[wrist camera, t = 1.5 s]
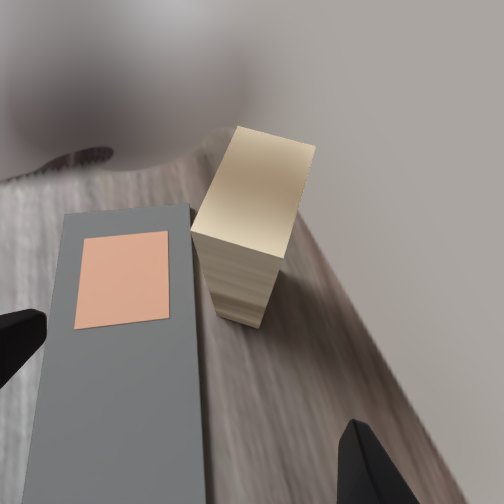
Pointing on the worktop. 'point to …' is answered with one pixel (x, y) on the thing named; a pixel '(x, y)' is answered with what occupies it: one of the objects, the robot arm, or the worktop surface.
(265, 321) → the worktop surface
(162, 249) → the mat
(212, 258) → the cream block
